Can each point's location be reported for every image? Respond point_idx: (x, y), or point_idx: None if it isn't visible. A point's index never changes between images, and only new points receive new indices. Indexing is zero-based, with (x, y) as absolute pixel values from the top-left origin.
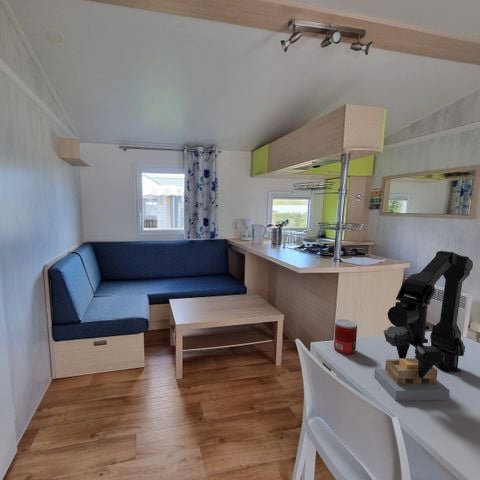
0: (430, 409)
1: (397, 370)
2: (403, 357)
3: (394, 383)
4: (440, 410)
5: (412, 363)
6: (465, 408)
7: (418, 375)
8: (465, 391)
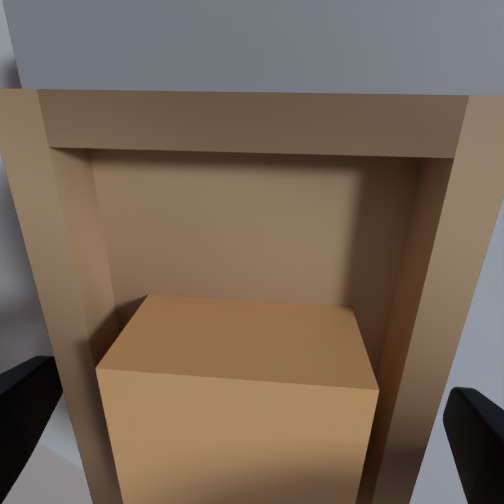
0: (19, 249)
1: (28, 90)
2: (477, 479)
3: (161, 82)
4: (23, 302)
5: (160, 476)
6: (71, 430)
7: (38, 368)
8: None
